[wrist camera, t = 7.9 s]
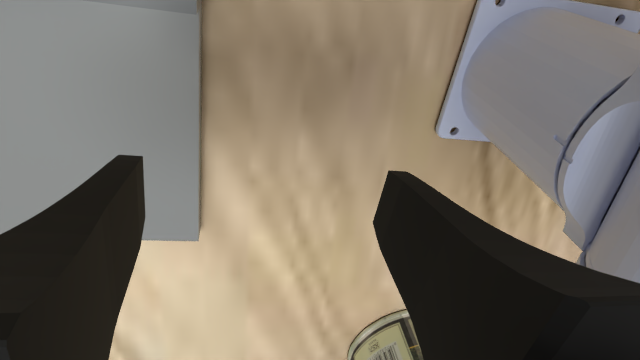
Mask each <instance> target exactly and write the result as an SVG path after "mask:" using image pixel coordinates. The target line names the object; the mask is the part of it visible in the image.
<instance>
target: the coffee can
mask: <svg viewBox="0 0 640 360" xmlns="http://www.w3.org/2000/svg"><path fill="white" fill-rule="evenodd" d="M348 360H423V356H422V353H421V349H420V346H419V343H418V340H417V337H416V333H415V330H414V327H413V324H412V321H411V318H410V316H409V313H408V311H407V310H404V311H400V312H396V313H393V314H390V315H388V316H385V317H383V318H381V319H380V320H378V321H376V322H374V323H373V324H371V325H370V326H368V327H367V328H366V329H364V330H363V331H362V332H361V333H360V334H359V335H358V336H357V337H356V339H355V340H354V342H353V343H352V345H351V346H350V349H349V352H348Z"/></svg>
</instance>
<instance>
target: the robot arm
mask: <svg viewBox="0 0 640 360" xmlns="http://www.w3.org/2000/svg"><path fill="white" fill-rule="evenodd" d="M495 1H496V0H477V3H476V6H475V10H474V13H473V16H472V19H471V22H470V25H469V28H468V31H467V34H466V37H465V40H464V43H463V46H462V49H461V52H460V55H459V58H458V61H457V65H456V68H455V71H454V74H453V77H452V80H451V83H450V86H449V89H448V92H447V95H446V98H445V101H444V104H443V107H442V110H441V113H440V116H439V119H438V123H437V126H436V133H437V134H438V136H439V137H441V138H447V139H460V140H473V141H486V142H492V143H493V144H494V145H495V146H496V147H497V148H498V149H499V150H500V151H501V152H502V153H504V154H505V155H506V156H507V157H508V158H509V159H510V160H511V161H512V162H513V163H514V164H515V165H516V166H517V167H518V168H519V169H520V170H521V171H522V172H523V173H525V174H526V175H527V176H528V177H529V178H530V179H531V180H532V181H533V182H534V183H535V184H536V185H537V186H538V187H539V188H540V189H541V190H542V191H543V192H545V193H546V194H547V195H548V196H549V197H550V198H551V199H552V200H553V201H554V202H555V203H556V204H557V205H558V206H559V207H560V208H561V209H562V210H563V211H565V214H566V223H565V226H564V229H563V232H564V233H565V234H566V235H567V236H568V237H569V238H570V239H571V240H572V241H573V242H574V243H575V244H576V245H577V246H578V247H579V248H580V249H581V250H582V251H583V252H582V253H581V255H580V256H579V258H578V260H577V262H576V263H573V262H570V261H567V260H565V259H562V258H560V257H557V256H554V255H552V254H550V253H547V252H545V251H543V250H540V249H538V248H536V247H533V246H531V245H529V244H527V243H525V242H522V241H520V240H518V239H516V238H514V237H512V236H510V235H508V234H507V233H505V232H503V231H501V230H499V229H497V228H495V227H493V226H492V225H490V224H488V223H486V222H485V221H483V220H481V219H480V218H478V217H476V216H475V215H473V214H471V213H470V212H468V211H467V210H465V209H464V208H462V207H460V206H459V205H457V204H456V203H454V202H453V201H451V200H450V199H448V198H447V197H446V196H444V195H443V194H441V193H440V192H438V191H437V190H435V189H434V188H432V187H431V186H429V185H428V184H426V183H425V182H423V181H422V180H420V179H419V178H417V177H415V176H414V175H412V174H410V173H408V172H403V171H388V175H387V178H386V181H385V184H384V188H383V191H382V194H381V198H380V201H379V204H378V207H377V211H376V214H375V217H374V220H373V225H374V229H375V233H376V237H377V240H378V243H379V247H380V250H381V252H382V255H383V257H384V259H385V261H386V264H387V266H388V268H389V271H390V273H391V275H392V277H393V279H394V282H395V284H396V286H397V288H398V290H399V293H400V295H401V297H402V299H403V301H404V304H405V306H406V308H407V311H408V313H409V316H410V318H411V321H412V324H413V327H414V330H415V333H416V337H417V340H418V343H419V346H420V349H421V353H422V356H423V360H640V34H637V33H638V32H639V30H640V12H638V11H634V10H628V9H622V8H615V7H609V6H603V5H597V4H591V3H585V2H578V1H572V0H501V2H500V3H499V4H498V5H496V4H495ZM618 16H619V19H618V20H617V22H615V20H616V18H617V17H618ZM454 127H456V129H455V131H453V132H450V130H451V129H452V128H454ZM144 223H145V194H144V170H143V156H133V155H117V156H116V157H115V158H114V159H112V160H111V161H110V162H109V163H107V164H106V165H105V166H104V167H102V168H101V169H100V170H99V171H97V172H96V173H95V174H94V175H93V176H91V177H90V178H89V179H88V180H86V181H85V182H84V183H82V184H81V185H80V186H78V187H77V188H76V189H74V190H73V191H72V192H70V193H69V194H67V195H66V196H64V197H63V198H62V199H60V200H59V201H57V202H56V203H54V204H53V205H51V206H50V207H48V208H47V209H45V210H44V211H42V212H40V213H39V214H37V215H35V216H34V217H32V218H30V219H28V220H27V221H25V222H23V223H21V224H19V225H17V226H16V227H14V228H12V229H10V230H8V231H6V232H4V233H2V234H0V360H108V359H109V354H110V349H111V344H112V339H113V334H114V330H115V326H116V323H117V319H118V315H119V312H120V309H121V306H122V303H123V300H124V297H125V294H126V290H127V287H128V284H129V281H130V278H131V275H132V272H133V269H134V266H135V262H136V259H137V256H138V253H139V250H140V246H141V240H142V235H143V229H144Z"/></svg>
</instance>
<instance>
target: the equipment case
mask: <svg viewBox="0 0 640 360" xmlns="http://www.w3.org/2000/svg"><path fill="white" fill-rule="evenodd" d="M201 38H202V0H0V234H2V233H4V232H6V231H8V230H10V229H12V228H14V227H16V226H17V225H19V224H21V223H23V222H25V221H27V220H28V219H30V218H32V217H34V216H35V215H37V214H39V213H40V212H42V211H44V210H45V209H47V208H48V207H50V206H51V205H53V204H54V203H56V202H57V201H59V200H60V199H62V198H63V197H64V196H66V195H67V194H69V193H70V192H72V191H73V190H74V189H76V188H77V187H78V186H80V185H81V184H82V183H84V182H85V181H86V180H88V179H89V178H90V177H91V176H93V175H94V174H95V173H96V172H97V171H99V170H100V169H101V168H102V167H104V166H105V165H106V164H107V163H109V162H110V161H111V160H112V159H114V158H115V157H116V156H117V155H133V156H143V170H144V194H145V223H144V229H143V235H142V240H162V241H199V234H200V186H201Z"/></svg>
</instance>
